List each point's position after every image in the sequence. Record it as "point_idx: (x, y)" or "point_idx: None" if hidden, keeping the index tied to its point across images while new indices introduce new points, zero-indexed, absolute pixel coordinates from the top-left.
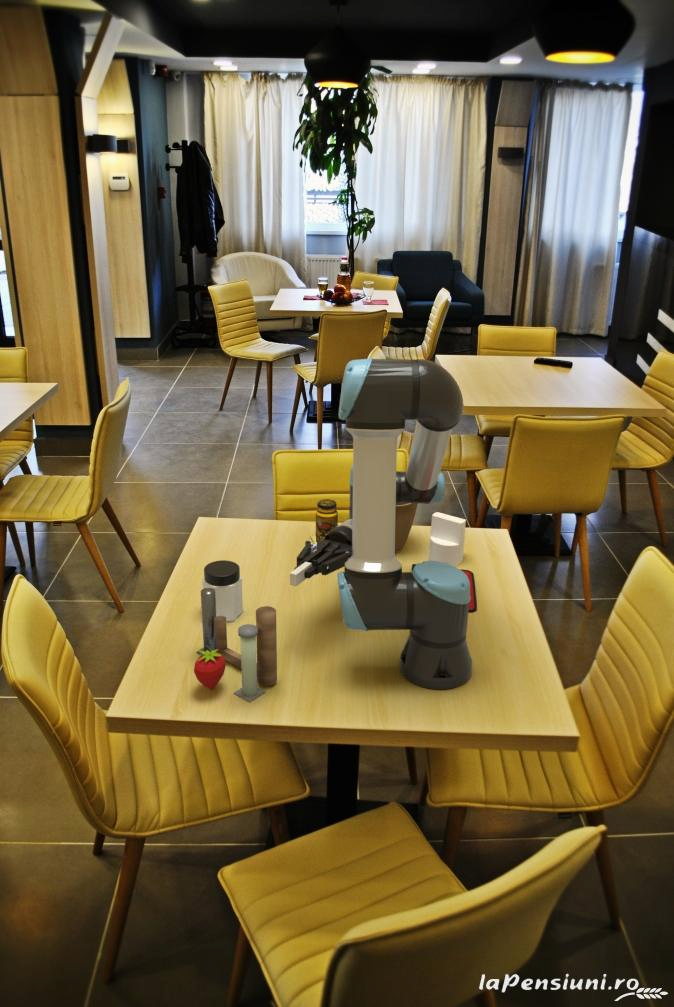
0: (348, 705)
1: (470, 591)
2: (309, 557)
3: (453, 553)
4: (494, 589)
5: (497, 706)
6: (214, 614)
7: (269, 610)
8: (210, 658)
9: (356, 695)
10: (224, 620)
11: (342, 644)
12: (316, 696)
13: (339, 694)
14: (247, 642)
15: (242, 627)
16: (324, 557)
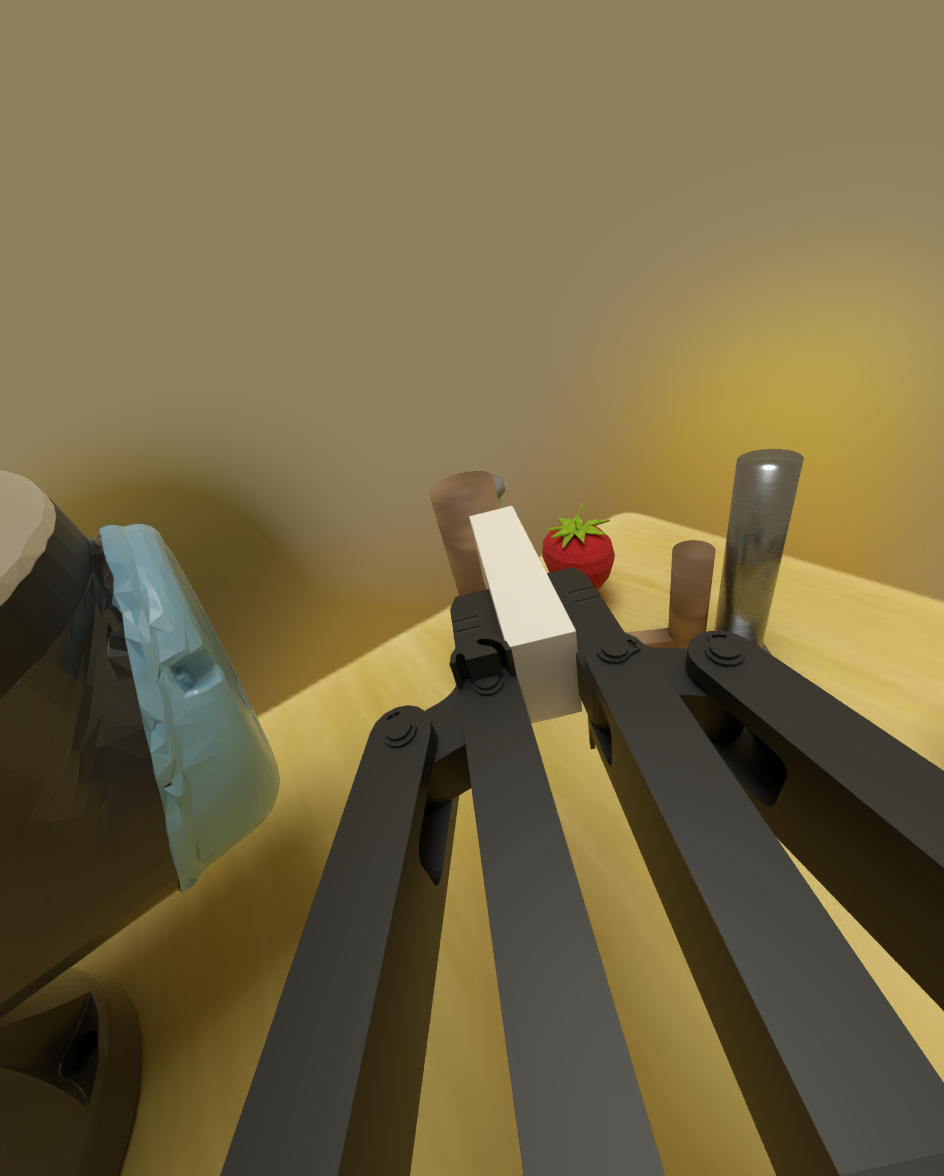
0: (296, 744)
1: None
2: (661, 733)
3: None
4: None
5: None
6: (730, 545)
7: (454, 489)
8: (563, 526)
9: (286, 787)
10: (673, 553)
11: (450, 1061)
12: (379, 718)
13: (330, 760)
14: None
15: (494, 480)
16: (512, 887)
